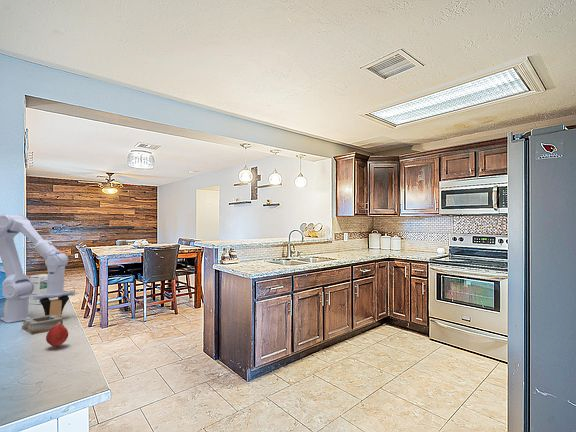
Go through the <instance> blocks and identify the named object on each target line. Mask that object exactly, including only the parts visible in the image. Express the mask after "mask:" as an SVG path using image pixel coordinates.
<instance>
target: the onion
mask: <svg viewBox="0 0 576 432" xmlns="http://www.w3.org/2000/svg"><path fill="white" fill-rule="evenodd" d="M45 336H46V337H45V340H46V343H47V344H48V345H49V346H52V347H54V348H60V346H62V344H64V343H65V342H66V341H67V340H68V337H69V330H68V329H67V327H65V325H64V326H62V325H61V323H60V322H59V323H57V324H56V325H55V326H54V327H52V328H51V329H50V330H49V331H47V333H46V335H45Z"/></svg>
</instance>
